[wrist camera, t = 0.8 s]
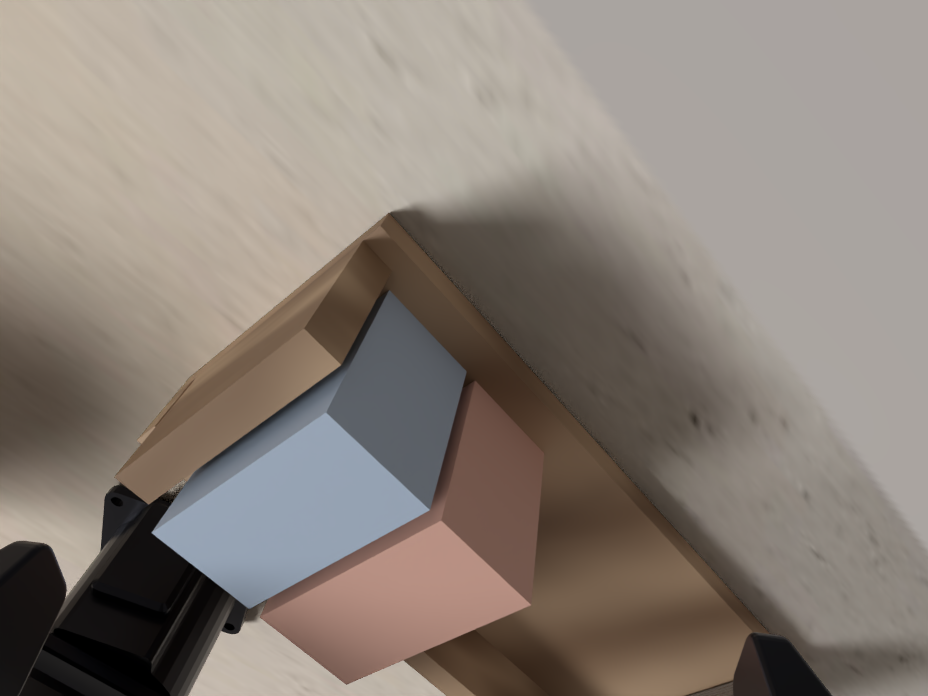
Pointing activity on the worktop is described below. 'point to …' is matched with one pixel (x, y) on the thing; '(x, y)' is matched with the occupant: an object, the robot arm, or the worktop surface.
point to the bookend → (718, 691)
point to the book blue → (324, 465)
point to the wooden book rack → (561, 503)
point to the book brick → (430, 557)
